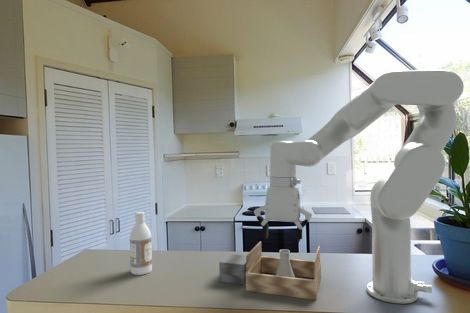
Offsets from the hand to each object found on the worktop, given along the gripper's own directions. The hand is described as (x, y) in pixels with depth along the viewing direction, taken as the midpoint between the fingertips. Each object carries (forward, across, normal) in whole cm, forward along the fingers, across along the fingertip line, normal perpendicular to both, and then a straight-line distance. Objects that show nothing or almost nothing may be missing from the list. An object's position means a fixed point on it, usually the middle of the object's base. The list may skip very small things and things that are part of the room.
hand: (282, 239), depth 96 cm
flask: (+14, -1, 0) cm, 14 cm away
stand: (+14, +14, 0) cm, 20 cm away
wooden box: (+13, -1, 0) cm, 13 cm away
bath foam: (+15, +47, +4) cm, 49 cm away
